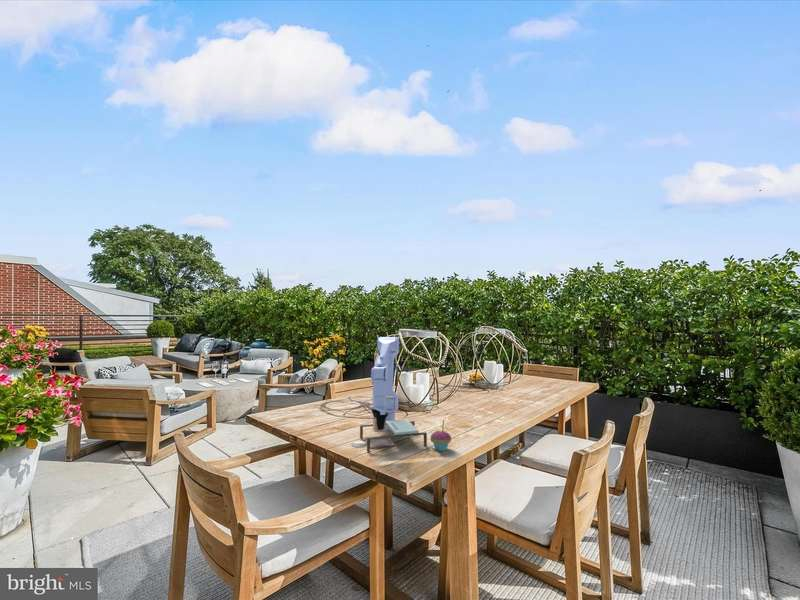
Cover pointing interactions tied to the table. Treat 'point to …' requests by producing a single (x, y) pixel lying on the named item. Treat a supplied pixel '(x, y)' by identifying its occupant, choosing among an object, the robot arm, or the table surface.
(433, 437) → the cupcake
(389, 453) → the table surface
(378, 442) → the puzzle board
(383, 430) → the block
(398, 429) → the slide cover
